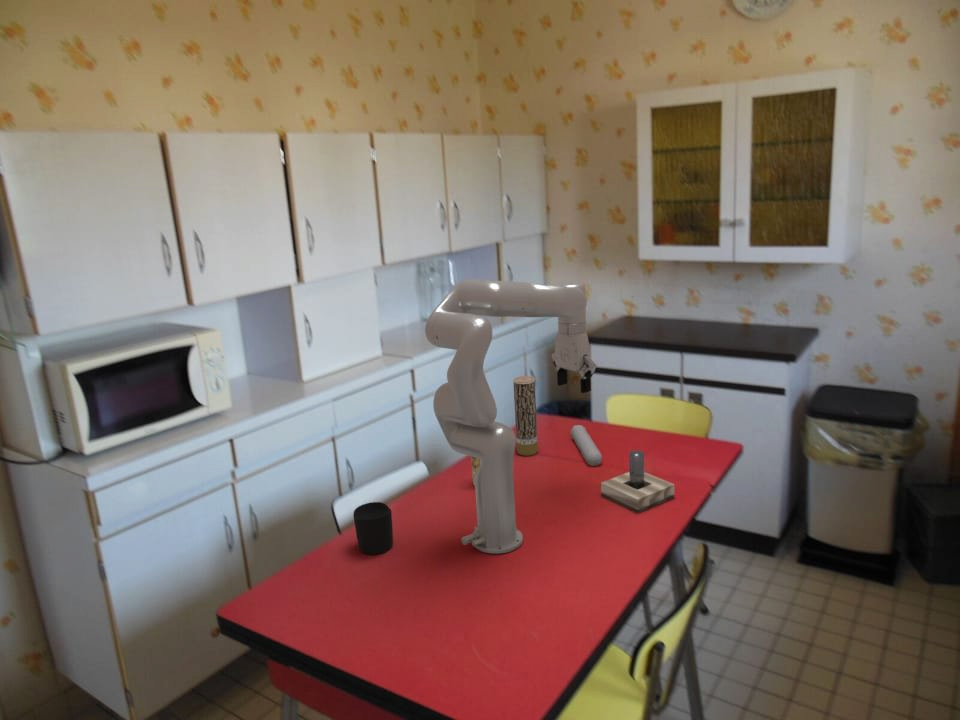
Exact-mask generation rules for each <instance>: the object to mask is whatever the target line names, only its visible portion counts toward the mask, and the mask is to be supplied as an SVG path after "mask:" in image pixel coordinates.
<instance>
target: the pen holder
mask: <svg viewBox="0 0 960 720" xmlns="http://www.w3.org/2000/svg"><path fill="white" fill-rule="evenodd" d="M352 516H353V521H354V527H355V534H356V540H357V544H358V549H359V551H360V552H361V553H362V554H364V553H365V554H364V555H369V554H370V556H373V555H374V556H376V555H381V554H383V553H386V552H388V551H389V550H390V549H391V548H392V546H393V545H394V533H393V514H392V509H391V508H390V506H388V505H387V504H386V503H384V502H381V501H373V502H367V503H364V504H361V505H358V506H357V507H356V508H355V509H354V510H353V515H352ZM375 554H376V555H375Z"/></svg>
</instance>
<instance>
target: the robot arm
mask: <svg viewBox="0 0 960 720" xmlns="http://www.w3.org/2000/svg"><path fill="white" fill-rule="evenodd" d="M587 299H588V298H587V296H586V287H585V284H584V283H582V282H581V281H564V282H561V283H559V284H555V285H554V284H553V285H545V284H540V283H534V282H525V281H508V280H495V279H494V280H490V279H474V278H466V279H465V278H464V279H463V280H461V281H460V282H458V283H457V284H456V285H455V286H454V287H452V289H450V291H449V292H448V293H447V294H446V295H445V296H444V298H443V299H442V300H441V301H440V302H439V303H438V304H437V306H436V307H435V308H434V310H432V312H431V313H430V314H429V316H428V318H427V319H426V323H425V327H424V334H425V337H426V340H427V341H428V342H429V344H431V345H432V346H434V347H437V348H441V349H449V350H456V351H455V354H454V356H453V358H452V360H451V362H450V365H448V368H447V373H446V381H447V382H445V383H443V384H440V386H439V387H438V388H437V390H436V391H435V393H434V396H433V402H432V403H433V405H432V406H433V412H434V414H435V417H436V420H437V422H438V424H439V426H440V429H441V430H442V433H443V435H444V437H445V440H446V442H447V443H448V445H449V447H450V448H451V449H452V450H453V451H454V452H456V453H459V454H462V455H465V456H470V457H471V456H472V457H475V458H478V459H480V460H481V464H480V466H479V467H478V469H477V471H476V473H475V485H474V488H475V489H474V490H475V502H476V503H475V505H476V519H477V525H476V526H474V527H473V529H474V531H472V532H471V534H467V535H466V536H463V537H462V536H461V543H462V545H464V546H465V545H469V544H471V545H472V547H474V548H475V549H477V551H480V552H482V553H487V554H491V555H492V554H495V555H496V554H505V553H510V552H513V551H514V550H516V549H518V548H520V546H521V545H522V544H523V542H524V538H523V537H524V535H523V533H522V531H520V530H519V529H517V522H516V506H515V505H516V504H515V502H516V501H515V485H514V484H515V483H514V457H515V451H516V445H517V441H516V433H514V431H513V429H512V428H511V427H509V426H508V425H507V424H504V423H502V422H499V421H495V420H496V418H497V414H498V413H497V412H498V408H497V404H496V401H495V398H494V394H493V393H492V391H491V388H490V386H489V385H490V384H489V383H488V380H487V378H486V374H485V371H484V364H485V359H486V356H487V353H488V350H489V348H490V346H491V343H492V339H493V327H492V324H491V322H490V321H489V320H488V319H487V318H486V317H489V318H490V317H491V318H506V317H507V318H509V317H510V318H512V317H513V318H557V325H558V326H557V328H558V331H557V332H556V336H555V341H554V342H555V343H554V352H553V353H551V359H552V361H553V362H552V363H553V365H554V366H555V368H554V369H555V371H556V376H557V380H556V381H557V386H559V387H560V386H564V385H567V384H568V371H571V372H574V373H575V372H576V373H577V372H578V373H579V375H580V377H581V378H580V382H579V383H580V393H581V394H586V393H588V392H591V391H592V380H591V379H592V378H593V375H594V374H595V371H596V368H597V363H595V361H593V360H592V359H591V351H590V343H589V342H590V341H589V336H588V333H587V311H586V310H587V304H588V300H587Z"/></svg>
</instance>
